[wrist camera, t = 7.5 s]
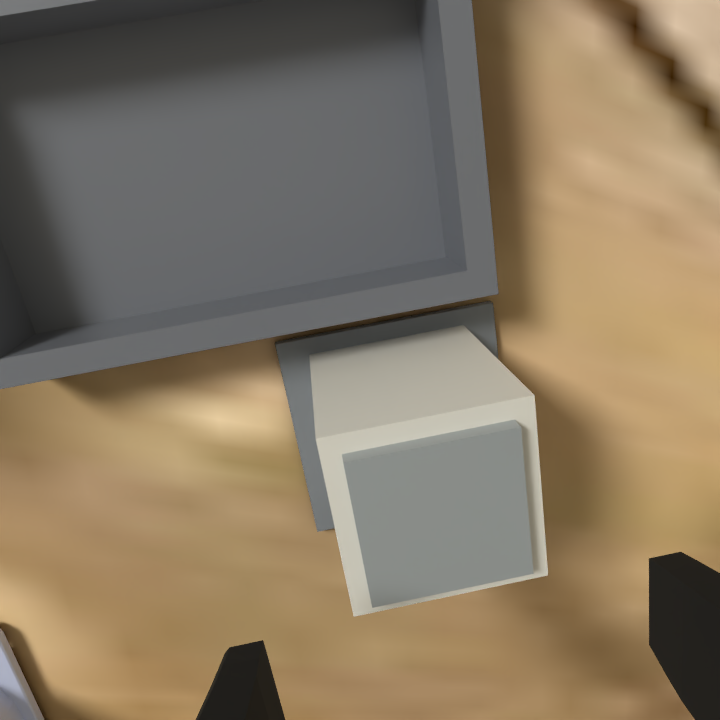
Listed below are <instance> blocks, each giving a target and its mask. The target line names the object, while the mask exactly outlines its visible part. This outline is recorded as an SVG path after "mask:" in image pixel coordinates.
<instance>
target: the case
mask: <svg viewBox="0 0 720 720" xmlns="http://www.w3.org/2000/svg"><path fill="white" fill-rule="evenodd" d="M496 294H498V283H497V272H496V261H495V250H494V239H493V228H492V217H491V206H490V195H489V184H488V173H487V162H486V152H485V141H484V130H483V119H482V108H481V97H480V86H479V75H478V64H477V53H476V42H475V31H474V20H473V10H472V0H0V389H4V388H9V387H14V386H19V385H25V384H30V383H35V382H40V381H46V380H51V379H56V378H61V377H67V376H72V375H77V374H82V373H87V372H93V371H98V370H103V369H108V368H114V367H119V366H124V365H129V364H135V363H140V362H145V361H150V360H156V359H161V358H166V357H171V356H176V355H182V354H187V353H192V352H197V351H203V350H208V349H213V348H218V347H224V346H229V345H234V344H239V343H245V342H250V341H255V340H260V339H266V338H271V337H276V336H281V335H286V334H292V333H297V332H302V331H307V330H313V329H318V328H323V327H328V326H334V325H339V324H344V323H349V322H355V321H360V320H365V319H370V318H376V317H381V316H386V315H391V314H396V313H402V312H407V311H412V310H417V309H423V308H428V307H433V306H438V305H444V304H449V303H454V302H459V301H465V300H470V299H475V298H480V297H485V296H491V295H496Z"/></svg>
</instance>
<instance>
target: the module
mask: <svg viewBox="0 0 720 720" xmlns="http://www.w3.org/2000/svg"><path fill="white" fill-rule="evenodd" d="M309 358H310V371H311V384H312V397H313V411H314V424H315V437H316V443H317V447H318V452H319V457H320V461H321V466H322V471H323V475H324V480H325V485H326V489H327V494H328V499H329V503H330V508H331V513H332V517H333V522H334V527H335V531H336V536H337V541H338V545H339V550H340V555H341V559H342V564H343V569H344V573H345V578H346V583H347V587H348V592H349V597H350V601H351V606H352V611H353V615H354V617H355V616H359V615H364V614H369V613H373V612H378V611H383V610H387V609H392V608H397V607H402V606H406V605H411V604H416V603H420V602H425V601H430V600H434V599H439V598H444V597H449V596H453V595H458V594H463V593H467V592H472V591H477V590H481V589H486V588H491V587H496V586H500V585H505V584H510V583H514V582H519V581H524V580H528V579H533V578H538V577H542V576H547V575H548V567H547V554H546V541H545V527H544V514H543V501H542V487H541V474H540V461H539V448H538V434H537V421H536V408H535V395H534V394H533V393H532V392H531V391H530V390H529V389H528V388H527V387H526V386H525V385H524V384H523V383H522V382H521V381H520V380H519V379H518V378H517V377H516V376H515V375H514V374H513V373H511V372H510V371H509V370H508V369H507V368H506V367H505V366H504V365H503V364H502V363H501V362H500V361H499V360H498V359H497V358H496V357H495V356H494V355H493V354H492V353H491V352H490V351H489V350H488V349H487V348H486V347H485V346H484V345H483V344H482V343H481V342H480V341H479V340H478V339H477V338H476V337H475V336H474V335H473V334H472V333H471V332H470V331H469V330H468V329H467V328H466V327H465V326H464V325H461V326H456V327H451V328H446V329H440V330H435V331H430V332H425V333H420V334H414V335H409V336H404V337H399V338H394V339H388V340H383V341H378V342H373V343H368V344H363V345H357V346H352V347H347V348H342V349H337V350H331V351H326V352H321V353H316V354H311V355H309Z"/></svg>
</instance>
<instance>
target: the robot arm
mask: <svg viewBox="0 0 720 720" xmlns="http://www.w3.org/2000/svg"><path fill="white" fill-rule="evenodd" d="M649 645H650V647H651V649H652V650H653V652H654V654H655V656H656V657H657V659H658V661H659V663H660V665H661V666H662V668H663V670H664V672H665V674H666V675H667V677H668V679H669V680H670V682H671V684H672V685H673V687H674V689H675V690H676V692H677V694H678V695H679V697H680V699H681V700H682V702H683V703H684V705H685V706H686V707H687V709H688V710H689V712H690V713H691V714H692V716H693V717H694V719H695V720H720V573H718V572H716V571H715V570H713V569H711V568H709V567H708V566H706V565H704V564H702V563H701V562H699V561H697V560H695V559H693V558H691V557H690V556H688V555H686V554H684V553H682V552H678V553H673V554H668V555H664V556H659V557H654V558H649ZM0 720H44V718H43V716H42V713H41V711H40V709H39V707H38V705H37V703H36V701H35V698H34V696H33V694H32V692H31V690H30V688H29V686H28V683H27V681H26V679H25V677H24V675H23V673H22V671H21V668H20V666H19V664H18V662H17V660H16V658H15V656H14V653H13V651H12V649H11V647H10V645H9V643H8V641H7V638H6V636H5V634H4V632H3V631H2V630H1V628H0ZM196 720H285V717H284V714H283V710H282V706H281V703H280V699H279V696H278V692H277V688H276V685H275V681H274V678H273V674H272V671H271V667H270V663H269V660H268V656H267V653H266V649H265V645H264V642H263V640H262V641H258V642H253V643H248V644H244V645H239V646H234V647H230V648H229V649H228V650H227V651H226V653H225V654H224V657H223V659H222V662H221V664H220V666H219V669H218V671H217V674H216V676H215V678H214V681H213V683H212V685H211V687H210V690H209V692H208V694H207V696H206V699H205V701H204V703H203V705H202V707H201V709H200V712H199V714H198V716H197V718H196Z"/></svg>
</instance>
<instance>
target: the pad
mask: <svg viewBox="0 0 720 720" xmlns="http://www.w3.org/2000/svg"><path fill="white" fill-rule="evenodd" d="M461 325H464V326H465V327H466V328H467V329H468V330H469V331H470V332H471V333H472V334H473V335H474V336H475V337H476V338H477V339H478V340H479V341H480V342H481V343H482V344H483V345H484V346H485V347H486V348H487V349H488V350H489V351H490V352H491V353H492V354H493V355H494V356H495V357H496V358H497V359H498V350H497V340H496V329H495V319H494V308H493V303H492V302H491V301H487V302H481V303H476V304H471V305H466V306H461V307H455V308H450V309H445V310H440V311H434V312H429V313H424V314H419V315H413V316H408V317H403V318H398V319H393V320H387V321H382V322H377V323H372V324H366V325H361V326H356V327H351V328H346V329H340V330H335V331H330V332H325V333H319V334H314V335H309V336H304V337H298V338H293V339H288V340H283V341H278V342H275V346H276V351H277V355H278V359H279V364H280V368H281V373H282V377H283V381H284V386H285V390H286V395H287V399H288V404H289V408H290V412H291V417H292V421H293V426H294V430H295V434H296V439H297V443H298V448H299V452H300V456H301V461H302V465H303V470H304V474H305V479H306V483H307V487H308V492H309V496H310V501H311V505H312V509H313V514H314V518H315V523H316V527H317V531H323V530H328V529H333V528H335V527H334V522H333V517H332V513H331V508H330V503H329V499H328V494H327V489H326V485H325V480H324V475H323V471H322V466H321V461H320V457H319V452H318V447H317V443H316V437H315V424H314V411H313V397H312V384H311V371H310V358H309V355H311V354H316V353H321V352H326V351H331V350H337V349H342V348H347V347H352V346H357V345H363V344H368V343H373V342H378V341H383V340H388V339H394V338H399V337H404V336H409V335H414V334H420V333H425V332H430V331H435V330H440V329H446V328H451V327H456V326H461Z"/></svg>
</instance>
